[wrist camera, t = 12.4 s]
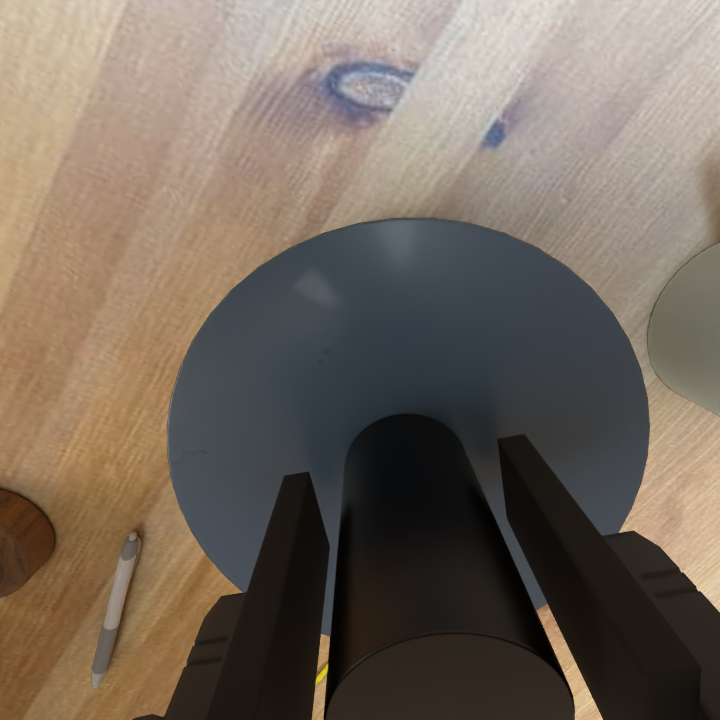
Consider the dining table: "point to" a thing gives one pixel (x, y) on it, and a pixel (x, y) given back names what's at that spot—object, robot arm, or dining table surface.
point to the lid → (411, 449)
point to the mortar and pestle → (21, 542)
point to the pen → (115, 607)
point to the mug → (690, 331)
